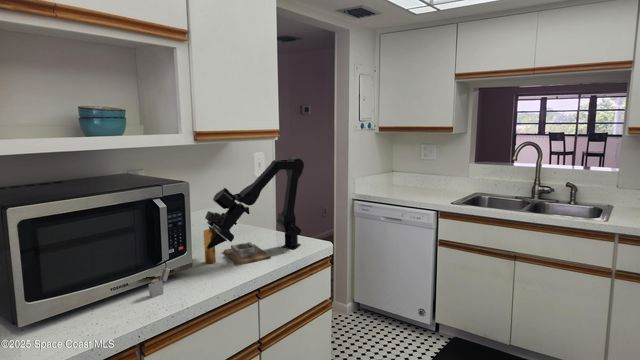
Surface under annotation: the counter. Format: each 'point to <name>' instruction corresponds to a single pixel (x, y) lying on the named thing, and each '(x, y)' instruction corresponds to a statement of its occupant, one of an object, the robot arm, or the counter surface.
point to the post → (210, 252)
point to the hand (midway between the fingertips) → (206, 246)
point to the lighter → (158, 284)
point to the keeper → (246, 253)
